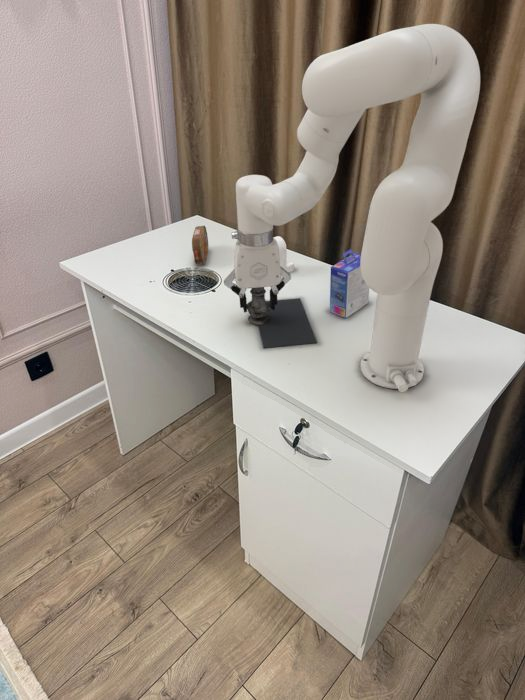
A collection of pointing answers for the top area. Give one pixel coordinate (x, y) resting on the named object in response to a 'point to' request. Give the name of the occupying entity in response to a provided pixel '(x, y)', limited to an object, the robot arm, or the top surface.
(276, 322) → the mat
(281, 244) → the cable organizer
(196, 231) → the tin
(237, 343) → the top surface
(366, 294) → the ink cartridge box
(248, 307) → the salt shaker
